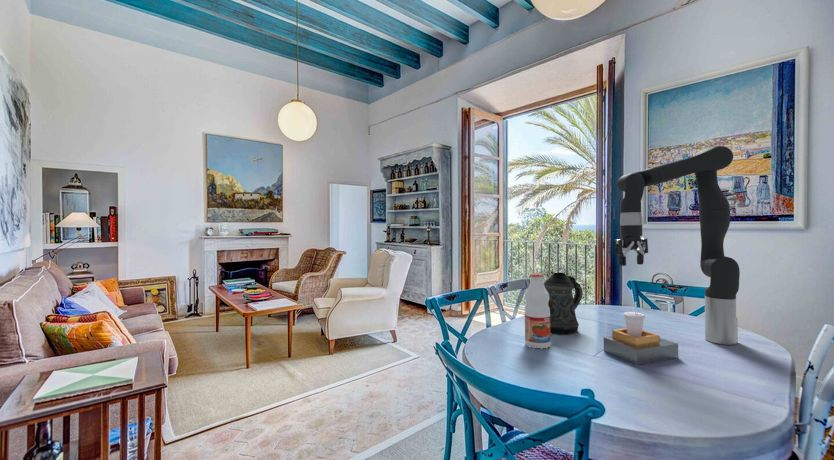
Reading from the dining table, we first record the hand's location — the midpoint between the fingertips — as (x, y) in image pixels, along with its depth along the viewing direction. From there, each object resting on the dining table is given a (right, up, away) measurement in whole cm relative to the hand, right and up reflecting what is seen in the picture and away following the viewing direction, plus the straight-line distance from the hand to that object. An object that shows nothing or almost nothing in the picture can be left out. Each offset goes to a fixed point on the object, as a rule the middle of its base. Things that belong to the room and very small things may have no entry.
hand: (631, 265), depth 139 cm
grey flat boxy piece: (-4, -30, -13) cm, 34 cm away
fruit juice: (-38, -31, -2) cm, 49 cm away
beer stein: (-21, -31, +18) cm, 41 cm away
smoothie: (-8, -26, -15) cm, 31 cm away
